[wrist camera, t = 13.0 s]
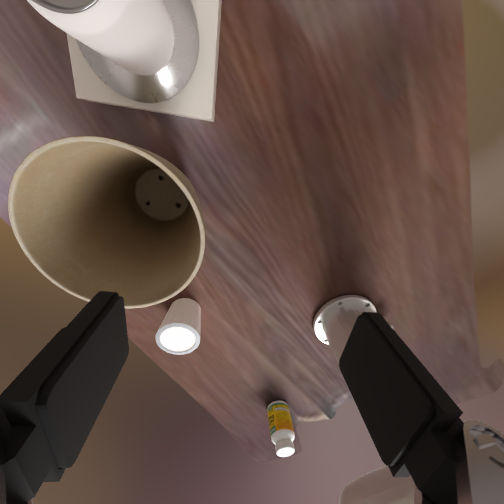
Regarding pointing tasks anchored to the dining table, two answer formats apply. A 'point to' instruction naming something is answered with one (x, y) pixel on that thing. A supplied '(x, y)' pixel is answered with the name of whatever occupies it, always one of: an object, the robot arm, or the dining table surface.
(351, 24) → the dining table surface
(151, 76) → the scale pan
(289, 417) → the supplement bottle
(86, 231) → the plant pot
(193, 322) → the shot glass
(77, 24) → the can
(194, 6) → the scale housing
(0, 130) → the dining table surface
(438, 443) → the robot arm
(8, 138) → the dining table surface
